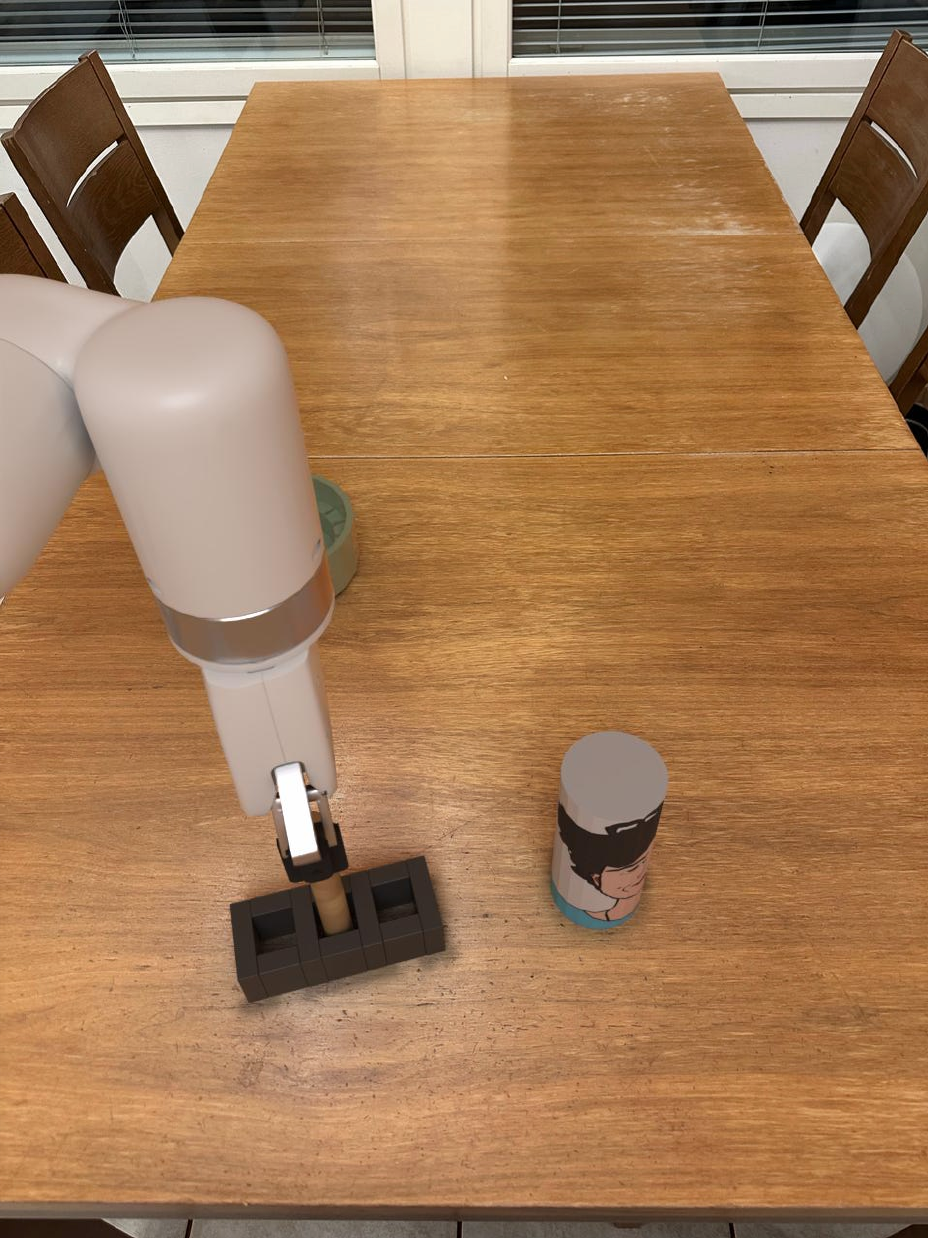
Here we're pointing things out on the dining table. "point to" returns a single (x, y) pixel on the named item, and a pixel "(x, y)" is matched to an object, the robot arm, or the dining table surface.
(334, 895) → the stick
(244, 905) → the holder
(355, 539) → the bowl
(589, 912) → the printed cylindrical canister
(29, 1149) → the dining table surface
